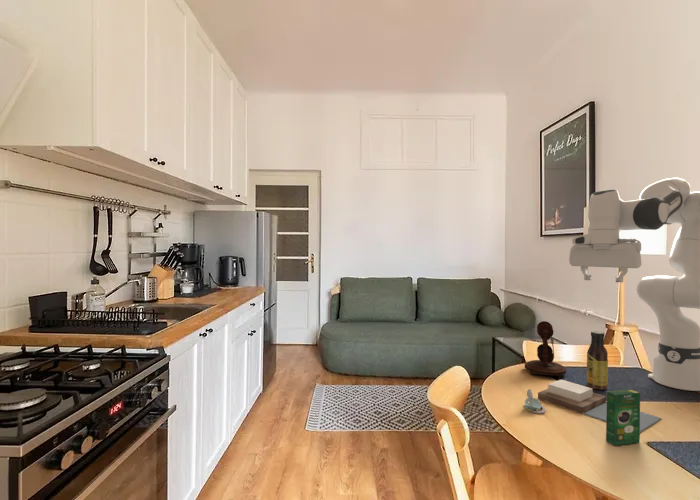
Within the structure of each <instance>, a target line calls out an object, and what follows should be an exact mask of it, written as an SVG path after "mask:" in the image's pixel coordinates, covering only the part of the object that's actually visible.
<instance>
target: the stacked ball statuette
mask: <svg viewBox="0 0 700 500" xmlns="http://www.w3.org/2000/svg"><path fill="white" fill-rule="evenodd" d="M553 327H554V326H553V325H552V324H551V322H548V321H546V320H545V321H544V320H543V321H540V322H539V323H538V324H537V325H536V329H537V330H536V333H537V335H538V336H539V337H540V339H541V341H542V343H541V344H539V345H538V346H537V348H536V353H537V354H536V356H537V358H538V359H536V360H535V359H533V360H529V361H527V362H525V363H524V369H525V370H527V371H529V373H530V375H532V376H533V375H534V374H538V375H545V376H557V379H561V377H562V376H564V375H565V374H567V368H566V367H565V366H563V365H562V364H560V363H558V362H555V361H554V359H555V348H554V340H553V335H554V329H553ZM550 339H551V345H552V346H550V345H549V343H548V341H549V340H550Z"/></svg>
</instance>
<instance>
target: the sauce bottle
mask: <svg viewBox="0 0 700 500" xmlns="http://www.w3.org/2000/svg"><path fill="white" fill-rule="evenodd" d="M590 335H591V336H590V337H591V338H590V339H591V341H590V345H589V347H588V349H587V352H586V382H587V383H586V384H587V387H589V388H593V389H594V390H602V391H603V390H604V391H605V390H606V389H607V388H608V376H609V373H608V372H609V367H608V366H609V360H608V350H607V348H606V346H605V332H603V331H599V330H592V331H590Z"/></svg>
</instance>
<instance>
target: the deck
mask: <svg viewBox="0 0 700 500" xmlns="http://www.w3.org/2000/svg"><path fill="white" fill-rule="evenodd" d="M537 400H539V401H540V400H541V401H543V402H547V403H549V404H552V405H556V406H559V407H562V408H564V409H567V410H570V411H573V412H576V413H580V414H582V415H584V413H585V412H587V411H589V410H591V409H593V408H595V407H597V406H599V405H602V404H604V403H606V402H607V395H603V394H599V393H596V392H593V396H592V397H590V398H588V399H585V400H583V401H581V402H579V401H576V400H573V399H569V398H566V397H563V396H560V395H557V394H554V393H551V392H548V388H546V389H544V390H540V391H539V392H537Z"/></svg>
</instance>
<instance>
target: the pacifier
mask: <svg viewBox="0 0 700 500" xmlns="http://www.w3.org/2000/svg"><path fill="white" fill-rule="evenodd" d="M526 395H527V398H526V399H525V400H524V404H525V405H524V404H523V407H524V408H527V410H528V411H529V412H532V413H535V414H539V415H540V414H544V413H545V412H546V407H544V405H542V403H541V402H540V400H539V399H538V398H535V397H534V394H533V391H532V389H531V388H528V389H527V391H526ZM540 409H541V410H540Z"/></svg>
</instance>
